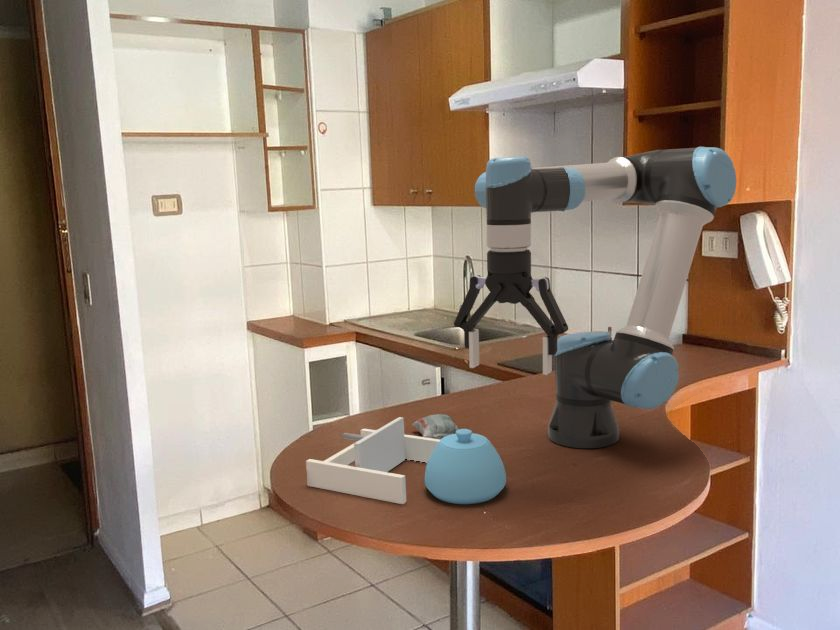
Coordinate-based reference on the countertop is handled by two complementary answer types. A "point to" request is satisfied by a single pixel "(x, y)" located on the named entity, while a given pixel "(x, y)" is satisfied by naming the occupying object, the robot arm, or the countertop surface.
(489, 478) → the sugar bowl
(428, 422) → the packaged food
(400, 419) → the pusher
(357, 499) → the countertop surface
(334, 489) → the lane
